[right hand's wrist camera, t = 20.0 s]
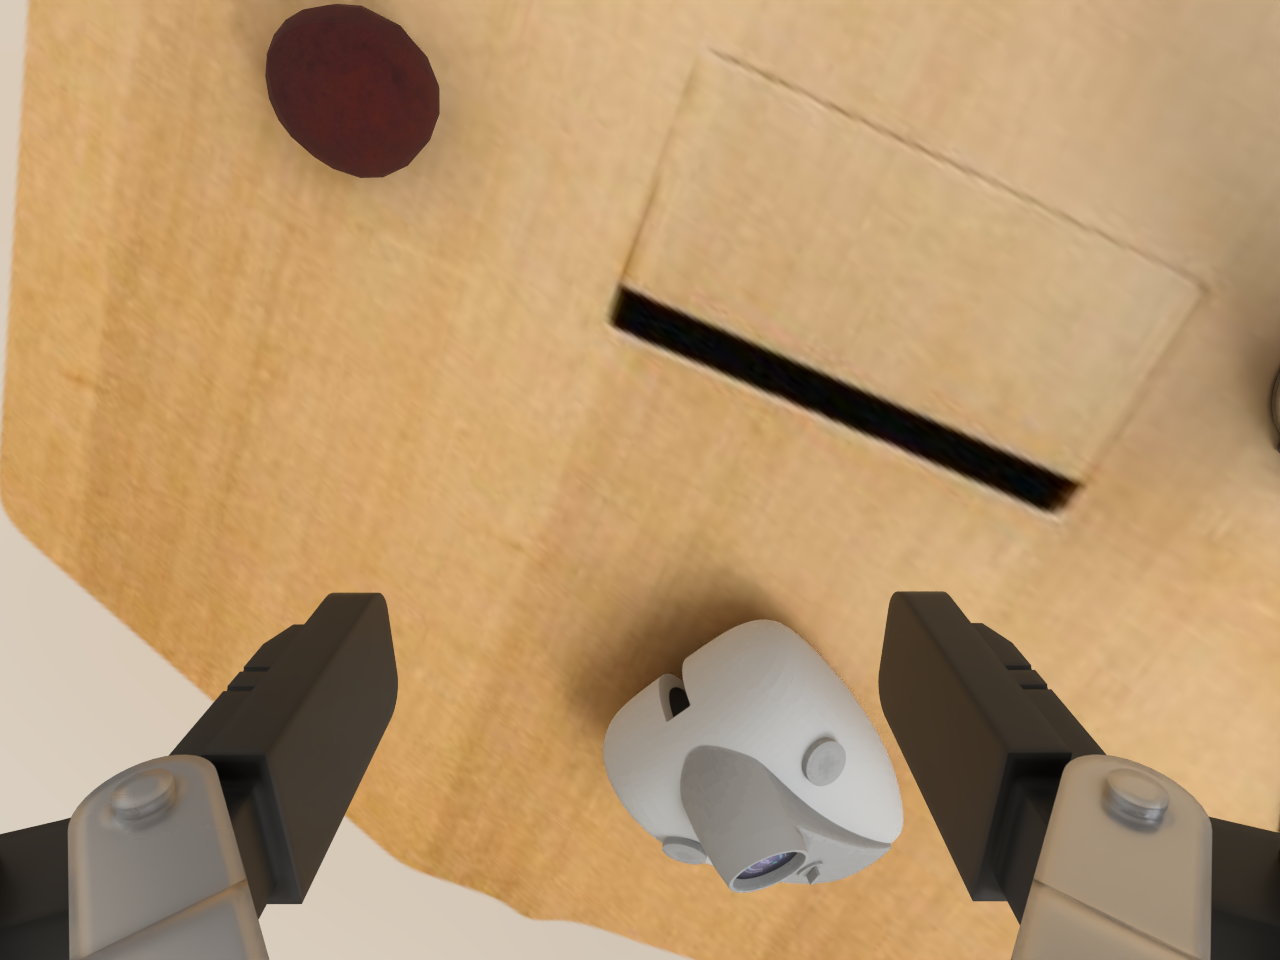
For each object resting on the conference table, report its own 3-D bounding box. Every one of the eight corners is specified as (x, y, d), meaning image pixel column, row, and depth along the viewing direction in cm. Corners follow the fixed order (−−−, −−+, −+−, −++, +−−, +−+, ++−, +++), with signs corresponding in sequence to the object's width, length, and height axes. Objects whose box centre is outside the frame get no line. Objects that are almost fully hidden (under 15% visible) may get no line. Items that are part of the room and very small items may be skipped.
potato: (290, 34, 37) (214, -2, 30) (438, 13, 36) (393, -28, 30) (329, 187, 39) (267, 185, 33) (467, 170, 39) (433, 163, 32)
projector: (606, 841, 57) (595, 1042, 43) (605, 592, 49) (592, 744, 35) (882, 844, 57) (958, 1046, 43) (928, 596, 49) (1040, 749, 35)
